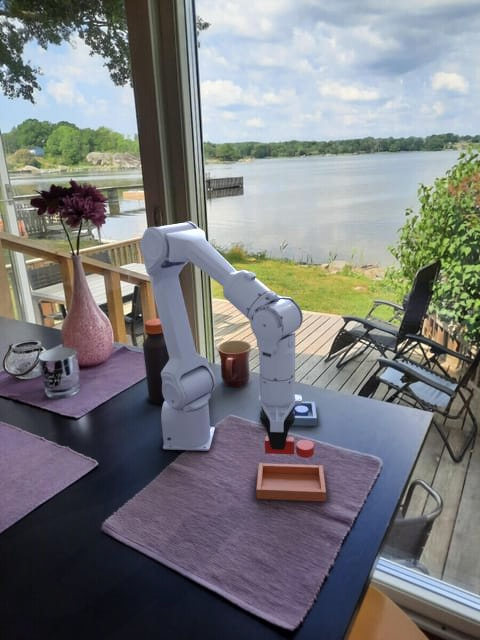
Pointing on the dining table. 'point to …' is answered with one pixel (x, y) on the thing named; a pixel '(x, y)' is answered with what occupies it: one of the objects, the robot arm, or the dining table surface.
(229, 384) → the mug
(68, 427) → the dining table surface
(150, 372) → the bottle
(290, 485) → the terracotta tray
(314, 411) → the blue tray
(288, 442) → the red spoon
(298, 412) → the blue spoon
